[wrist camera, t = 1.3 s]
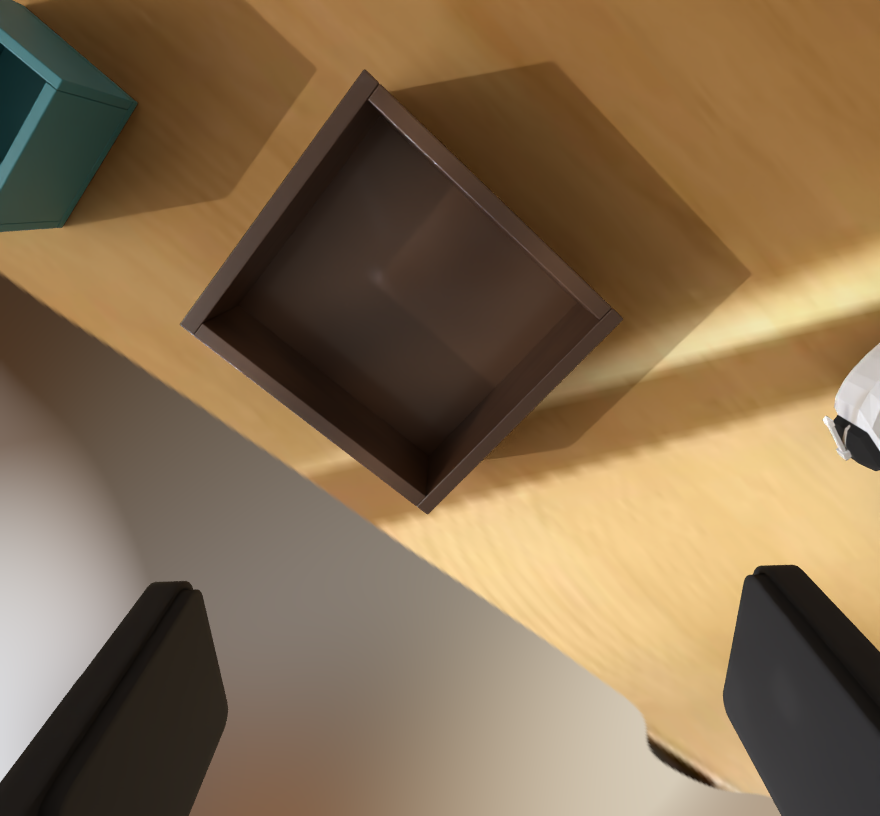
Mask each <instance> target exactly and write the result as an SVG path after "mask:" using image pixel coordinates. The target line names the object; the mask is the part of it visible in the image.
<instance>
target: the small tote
mask: <svg viewBox="0 0 880 816" xmlns="http://www.w3.org/2000/svg"><path fill="white" fill-rule="evenodd" d="M137 104H138V103H137V102H136V101H135V100H134V99H133V98H131V97H130V96H129V95H128V94H127V93H126V92H124V91H123V90H122V89H121V88H120V87H118V86H117V85H116V84H115V83H114V82H113V81H111V80H110V79H109V78H108V77H107V76H106V75H104V74H103V73H102V72H101V71H100V70H99V69H97V68H96V67H95V66H94V65H93V64H91V63H90V62H89V61H88V60H87V59H86V58H84V57H83V56H82V55H81V54H80V53H79V52H77V51H76V50H75V49H74V48H73V47H71V46H70V45H69V44H68V43H67V42H66V41H64V40H63V39H62V38H61V37H60V36H59V35H57V34H56V33H55V32H54V31H53V30H52V29H50V28H49V27H48V26H47V25H46V24H44V23H43V22H42V21H41V20H40V19H39V18H37V17H36V16H35V15H34V14H33V13H32V12H30V11H29V10H28V9H27V8H26V7H25V6H23V5H21V4H19V3H17V2H15V1H13V0H0V232H6V231H20V230H34V229H48V228H62V227H63V225H64V224H65V222H66V221H67V219H68V217H69V216H70V214H71V212H72V211H73V209H74V207H75V206H76V204H77V202H78V201H79V199H80V198H81V196H82V194H83V193H84V191H85V189H86V188H87V186H88V184H89V183H90V181H91V180H92V178H93V176H94V175H95V173H96V171H97V170H98V168H99V166H100V165H101V163H102V161H103V160H104V158H105V157H106V155H107V153H108V152H109V150H110V148H111V147H112V145H113V143H114V142H115V140H116V139H117V137H118V135H119V134H120V132H121V130H122V129H123V127H124V125H125V124H126V122H127V120H128V119H129V117H130V116H131V114H132V112H133V111H134V109H135V107H136V106H137Z"/></svg>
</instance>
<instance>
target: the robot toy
mask: <svg viewBox="0 0 880 816" xmlns="http://www.w3.org/2000/svg"><path fill="white" fill-rule="evenodd" d="M834 407H835V409H836V411H837V414H838V415H837V417H836V418H835V419H834V421H833V420H832V419H830V418H829V417H828V416H825V417H824V418H823V421H824V423H825V424H826V425H827V426H828V428H829V430H830V432H831V434H832V436H833V438H834V440H835V442H836V444H837V446H838V448H837V449H836V450H837V452H838V454H839V455H840V456H841V457H842V458H844V459H845V460H846V461H847V460H848V459H850V458H852V459H853V460H855V461H856V462H858V463H859V464H861V465H863V466H865V467H868V468H870V469H872V470H874V471H878V470H880V343H879V344H878V345H877V346H875V347H874V348H873V349H872V350H871V351H870V352H869V353H868V354H866V355H865V357H864V358H863V359H862V360H861V361H860V362H859V363H858V364H857V365H856V366H855V367H854V368H853V369H852V370H851V372H850V373H849V374H848V376H847V377H846V378H845V380H844V381H843V383H842V385H841V387H840V389H839V391H838V393H837V395H836V397H835V405H834Z"/></svg>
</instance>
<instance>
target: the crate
mask: <svg viewBox="0 0 880 816" xmlns="http://www.w3.org/2000/svg"><path fill="white" fill-rule="evenodd" d="M622 320H623V318H622V317H621V316H620V315H619V314H618V313H617V312H616V311H615V310H614V309H613V308H611V306H610V305H609V304H608V303H607V302H606V301H605V300H604V299H603V298H602V297H601V296H600V295H598V294H597V293H596V292H595V291H594V290H593V289H592V288H591V287H590V286H589V285H588V284H587V283H586V282H585V281H584V280H583V279H582V278H581V277H580V276H579V275H578V274H577V273H576V272H575V271H574V270H573V269H572V268H570V267H569V266H568V265H567V264H566V263H565V262H564V261H563V260H562V259H561V258H560V257H559V256H558V255H557V254H556V253H555V252H554V251H553V250H552V249H551V248H550V247H549V246H548V245H547V244H546V243H545V242H544V241H543V240H541V239H540V238H539V237H538V236H537V235H536V234H535V233H534V232H533V231H532V230H531V229H530V228H529V227H528V226H527V225H526V224H525V223H524V222H523V221H522V220H521V219H520V218H519V217H518V216H517V215H516V214H515V213H514V212H512V211H511V210H510V209H509V208H508V207H507V206H506V205H505V204H504V203H503V202H502V201H501V200H500V199H499V198H498V197H497V196H496V195H495V194H494V193H493V192H492V191H491V190H490V189H489V188H488V187H487V186H486V185H484V184H483V183H482V182H481V181H480V180H479V179H478V178H477V177H476V176H475V175H474V174H473V173H472V172H471V171H470V170H469V169H468V168H467V167H466V166H465V165H464V164H463V163H462V162H461V161H460V160H459V159H458V158H457V157H455V156H454V155H453V154H452V153H451V152H450V151H449V150H448V149H447V148H446V147H445V146H444V145H443V144H442V143H441V142H440V141H439V140H438V139H437V138H436V137H435V136H434V135H433V134H432V133H431V132H430V131H429V130H427V129H426V128H425V127H424V126H423V125H422V124H421V123H420V122H419V121H418V120H417V119H416V118H415V117H414V116H413V115H412V114H411V113H410V112H409V111H408V110H407V109H406V108H405V107H404V106H403V105H402V104H401V103H400V102H398V101H397V100H396V99H395V98H394V97H393V96H392V95H391V94H390V93H389V92H388V91H387V90H386V89H385V88H384V87H383V86H382V85H380V84H379V82H378V81H377V80H376V79H375V78H374V77H373V76H372V75H371V74H370V73H368V72H367V71H366V70H365V69H364V70H363V71H362V73H361V74H360V75H359V77H358V78H357V79H356V81H355V82H354V84H353V85H352V86H351V88H350V89H349V91H348V92H347V93H346V95H345V96H344V97H343V99H342V100H341V102H340V103H339V104H338V106H337V107H336V109H335V110H334V111H333V113H332V114H331V115H330V117H329V118H328V120H327V121H326V122H325V124H324V125H323V127H322V128H321V129H320V131H319V132H318V133H317V135H316V136H315V138H314V139H313V140H312V142H311V143H310V145H309V146H308V147H307V149H306V150H305V151H304V153H303V154H302V156H301V157H300V158H299V160H298V161H297V163H296V164H295V165H294V167H293V168H292V169H291V171H290V172H289V174H288V175H287V176H286V178H285V179H284V181H283V182H282V183H281V185H280V186H279V187H278V189H277V190H276V192H275V193H274V194H273V196H272V197H271V199H270V200H269V201H268V203H267V204H266V205H265V207H264V208H263V210H262V211H261V212H260V214H259V215H258V217H257V218H256V219H255V221H254V222H253V223H252V225H251V226H250V228H249V229H248V230H247V232H246V233H245V235H244V236H243V237H242V239H241V240H240V241H239V243H238V244H237V246H236V247H235V248H234V250H233V251H232V253H231V254H230V255H229V257H228V258H227V259H226V261H225V262H224V264H223V265H222V266H221V268H220V269H219V271H218V272H217V273H216V275H215V276H214V277H213V279H212V280H211V282H210V283H209V284H208V286H207V287H206V289H205V290H204V291H203V293H202V294H201V295H200V297H199V298H198V300H197V301H196V302H195V304H194V305H193V307H192V308H191V309H190V311H189V312H188V313H187V315H186V316H185V318H184V319H183V320H182V322H181V323H180V325H181V326H182V327H183V328H185V329H186V330H187V331H188V332H190V333H191V334H192V335H194V336H195V337H196V338H197V339H199V340H200V341H201V342H203V343H204V344H205V345H207V346H208V347H209V348H210V349H212V350H213V351H214V352H216V353H217V354H218V355H220V356H221V357H222V358H223V359H225V360H226V361H227V362H229V363H230V364H231V365H233V366H234V367H235V368H237V369H238V370H239V371H240V372H242V373H243V374H244V375H246V376H247V377H248V378H250V379H251V380H252V381H253V382H255V383H256V384H257V385H259V386H260V387H261V388H263V389H264V390H265V391H267V392H268V393H269V394H270V395H272V396H273V397H274V398H276V399H277V400H278V401H280V402H281V403H282V404H284V405H285V406H286V407H287V408H289V409H290V410H291V411H293V412H294V413H295V414H297V415H298V416H299V417H300V418H302V419H303V420H304V421H306V422H307V423H308V424H310V425H311V426H312V427H314V428H315V429H316V430H317V431H319V432H320V433H321V434H323V435H324V436H325V437H327V438H328V439H329V440H330V441H332V442H333V443H334V444H336V445H337V446H338V447H340V448H341V449H342V450H344V451H345V452H346V453H347V454H349V455H350V456H351V457H353V458H354V459H355V460H357V461H358V462H359V463H360V464H362V465H363V466H364V467H366V468H367V469H368V470H370V471H371V472H372V473H374V474H375V475H376V476H377V477H379V478H380V479H381V480H383V481H384V482H385V483H387V484H388V485H389V486H391V487H392V488H393V489H394V490H396V491H397V492H398V493H400V494H401V495H402V496H404V497H405V498H406V499H407V500H409V501H410V502H411V503H413V504H414V505H415V506H417V507H418V508H419V509H421V510H422V511H423V512H425V513H426V514H429V513H430V512H431V511H432V510H433V509H434V508H435V507H436V506H437V505H438V504H439V503H440V502H441V501H442V500H443V499H444V498H445V497H446V496H447V495H448V494H449V493H450V492H451V491H452V490H453V489H454V488H455V487H456V486H457V485H458V484H459V483H460V482H461V481H462V480H463V479H464V478H465V477H466V476H467V475H468V474H469V473H470V472H471V471H472V470H473V469H474V468H475V467H476V466H477V465H478V464H479V463H480V462H481V461H482V460H483V459H484V458H485V457H486V456H487V455H488V454H489V453H490V452H491V451H492V450H493V449H494V448H495V447H496V446H497V445H498V444H499V443H500V442H501V441H502V440H503V439H504V438H505V437H506V436H507V435H508V434H509V433H510V432H511V431H512V430H513V429H514V428H515V427H516V426H517V425H518V424H519V423H520V422H521V421H522V420H523V419H524V418H525V417H526V416H527V415H528V414H529V413H530V412H531V411H532V410H533V409H534V408H535V407H536V406H537V405H538V404H539V403H540V402H541V401H542V400H543V399H544V398H545V397H546V396H547V395H548V394H549V393H550V392H551V391H552V390H553V389H554V388H555V387H556V386H557V385H558V384H559V383H560V382H561V381H562V380H563V379H564V378H565V377H566V376H567V375H568V374H569V373H570V372H571V371H572V370H573V369H574V368H575V367H576V366H577V365H578V364H579V363H580V362H581V361H582V360H583V359H584V358H585V357H586V356H587V355H588V354H589V353H590V352H591V351H592V350H593V349H594V348H595V347H596V346H597V345H598V344H599V343H600V342H601V341H602V340H603V339H604V338H605V337H606V336H607V335H608V334H609V333H610V332H611V331H612V330H613V329H614V328H615V327H616V326H617V325H618V324H619V323H620V322H621V321H622Z"/></svg>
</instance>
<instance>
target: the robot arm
mask: <svg viewBox="0 0 880 816" xmlns="http://www.w3.org/2000/svg"><path fill="white" fill-rule="evenodd" d="M723 701H724V706H725V710H726V713H727V715H728V717H729V719H730V721H731V723H732V725H733V727H734V729H735V731H736V732H737V734H738V736H739V738H740V740H741V742H742V744H743V745H744V747H745V749H746V751H747V753H748V755H749V756H750V758H751V760H752V762H753V764H754V766H755V768H756V769H757V771H758V773H759V775H760V777H761V779H762V781H763V782H764V784H765V786H766V788H767V790H768V792H769V793H770V795H771V797H772V799H773V801H774V803H775V805H776V806H777V808H778V810H779V812H780V814H781V816H880V652H879V651H878V650H877V649H876V647H875V646H874V645H873V644H872V643H871V642H870V641H869V640H868V639H867V638H866V637H865V636H864V635H863V634H862V633H861V632H860V631H859V630H858V628H857V627H856V626H855V625H854V624H853V623H852V622H851V621H850V620H849V619H848V618H847V617H846V616H845V615H844V614H843V613H842V612H841V610H840V609H839V608H838V607H837V606H836V605H835V604H834V603H833V602H832V601H831V600H830V599H829V598H828V597H827V596H826V595H825V594H824V592H823V591H822V590H821V589H820V588H819V587H818V586H817V585H816V584H815V583H814V582H813V581H812V580H811V579H810V578H809V577H808V576H807V575H806V573H805V572H804V571H803V570H802V569H800V568H799V567H798V566H795V565H770V566H759V567H757V568H756V569H755V570H754V573H753V575H748V576H747V577H746V578H745V580H744V584H743V590H742V595H741V600H740V605H739V611H738V616H737V621H736V627H735V632H734V637H733V643H732V648H731V653H730V659H729V664H728V669H727V675H726V680H725V685H724V690H723ZM227 714H228V705H227V699H226V695H225V691H224V686H223V682H222V678H221V673H220V669H219V665H218V660H217V656H216V652H215V647H214V643H213V639H212V635H211V630H210V626H209V622H208V617H207V613H206V608H205V605H204V600H203V596H202V593H201V592H200V591H199V590H193V588H192V585H191V584H190V583H189V582H187V581H179V582H178V581H174V582H154V583H152V584H150V585H149V586H148V587H147V589H146V590H145V591H144V593H143V594H142V595H141V597H140V598H139V599H138V601H137V602H136V603H135V605H134V606H133V607H132V609H131V610H130V611H129V613H128V614H127V615H126V617H125V618H124V619H123V621H122V622H121V623H120V625H119V626H118V628H117V629H116V630H115V631H114V633H113V634H112V635H111V637H110V638H109V639H108V641H107V642H106V643H105V645H104V646H103V647H102V649H101V650H100V651H99V653H98V654H97V655H96V657H95V658H94V659H93V661H92V662H91V664H90V665H89V666H88V667H87V669H86V670H85V671H84V673H83V674H82V675H81V676H80V677H79V679H78V680H77V681H76V683H75V684H74V685H73V686H72V688H71V689H70V690H69V692H68V693H67V695H66V696H65V697H64V698H63V700H62V702H60V704H59V705H58V706H57V708H56V709H55V710H54V712H53V713H52V714H51V716H50V717H49V718H48V720H47V721H46V722H45V724H44V725H43V726H42V728H41V729H40V730H39V732H38V733H37V734H36V736H35V737H34V739H33V740H32V741H31V742H30V744H29V745H28V746H27V748H26V749H25V750H24V752H23V753H22V754H21V756H20V757H19V759H18V760H17V761H16V762H15V764H14V765H13V766H12V768H11V769H10V770H9V772H8V773H7V774H6V776H5V777H4V778H3V780H2V781H1V782H0V816H189V813H190V811H191V809H192V806H193V804H194V801H195V799H196V796H197V794H198V791H199V789H200V787H201V784H202V782H203V779H204V777H205V774H206V772H207V770H208V767H209V765H210V762H211V760H212V757H213V755H214V753H215V750H216V748H217V745H218V742H219V740H220V738H221V735H222V733H223V731H224V728H225V725H226V721H227Z"/></svg>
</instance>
